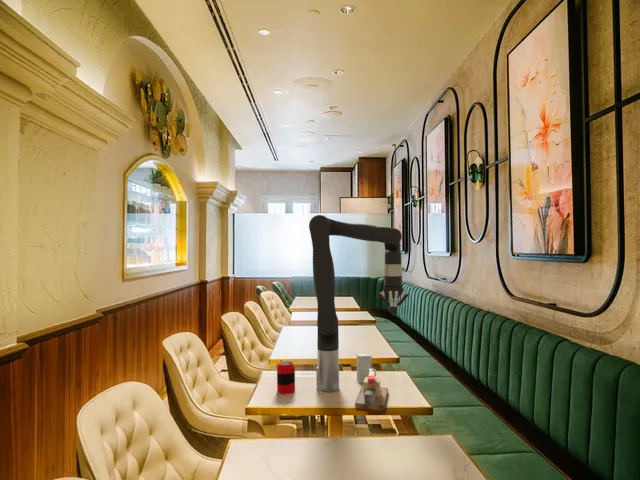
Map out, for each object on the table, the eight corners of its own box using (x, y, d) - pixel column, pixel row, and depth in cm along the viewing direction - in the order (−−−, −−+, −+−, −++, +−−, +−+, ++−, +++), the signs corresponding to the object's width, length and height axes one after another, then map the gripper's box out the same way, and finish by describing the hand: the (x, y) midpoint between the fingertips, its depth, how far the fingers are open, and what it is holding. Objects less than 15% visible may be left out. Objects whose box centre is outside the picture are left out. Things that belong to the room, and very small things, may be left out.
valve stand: (355, 408, 159) (354, 383, 159) (361, 390, 177) (361, 368, 177) (384, 410, 156) (383, 385, 156) (387, 392, 175) (387, 369, 175)
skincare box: (358, 383, 186) (358, 356, 186) (356, 380, 190) (356, 353, 190) (372, 382, 187) (371, 355, 187) (369, 379, 191) (369, 353, 191)
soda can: (296, 393, 175) (296, 365, 175) (278, 395, 173) (278, 366, 173) (293, 387, 182) (293, 360, 182) (276, 389, 180) (275, 361, 180)
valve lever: (368, 374, 169) (368, 367, 169) (376, 374, 168) (375, 368, 168) (367, 385, 156) (367, 378, 156) (375, 386, 155) (375, 379, 155)
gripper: (408, 274, 180) (408, 313, 180) (377, 273, 182) (378, 313, 182) (409, 275, 173) (409, 317, 173) (377, 275, 175) (377, 316, 175)
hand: (393, 315), depth 177 cm, fingers closed
